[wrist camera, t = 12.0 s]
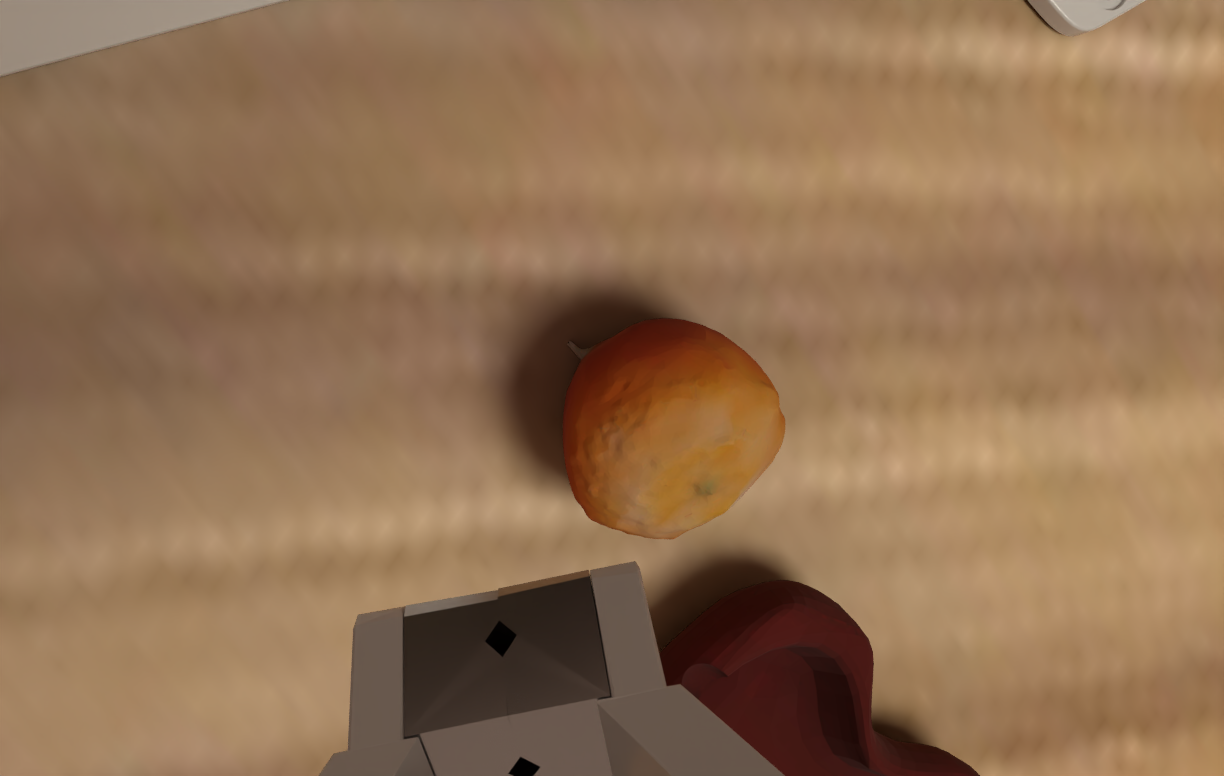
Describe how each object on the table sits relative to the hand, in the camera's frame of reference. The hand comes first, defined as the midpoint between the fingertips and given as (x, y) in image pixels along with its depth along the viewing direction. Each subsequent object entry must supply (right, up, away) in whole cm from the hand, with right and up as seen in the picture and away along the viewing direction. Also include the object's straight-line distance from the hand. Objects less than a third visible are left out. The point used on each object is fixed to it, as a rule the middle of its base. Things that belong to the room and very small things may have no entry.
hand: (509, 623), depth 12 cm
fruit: (+2, +2, +31) cm, 31 cm away
